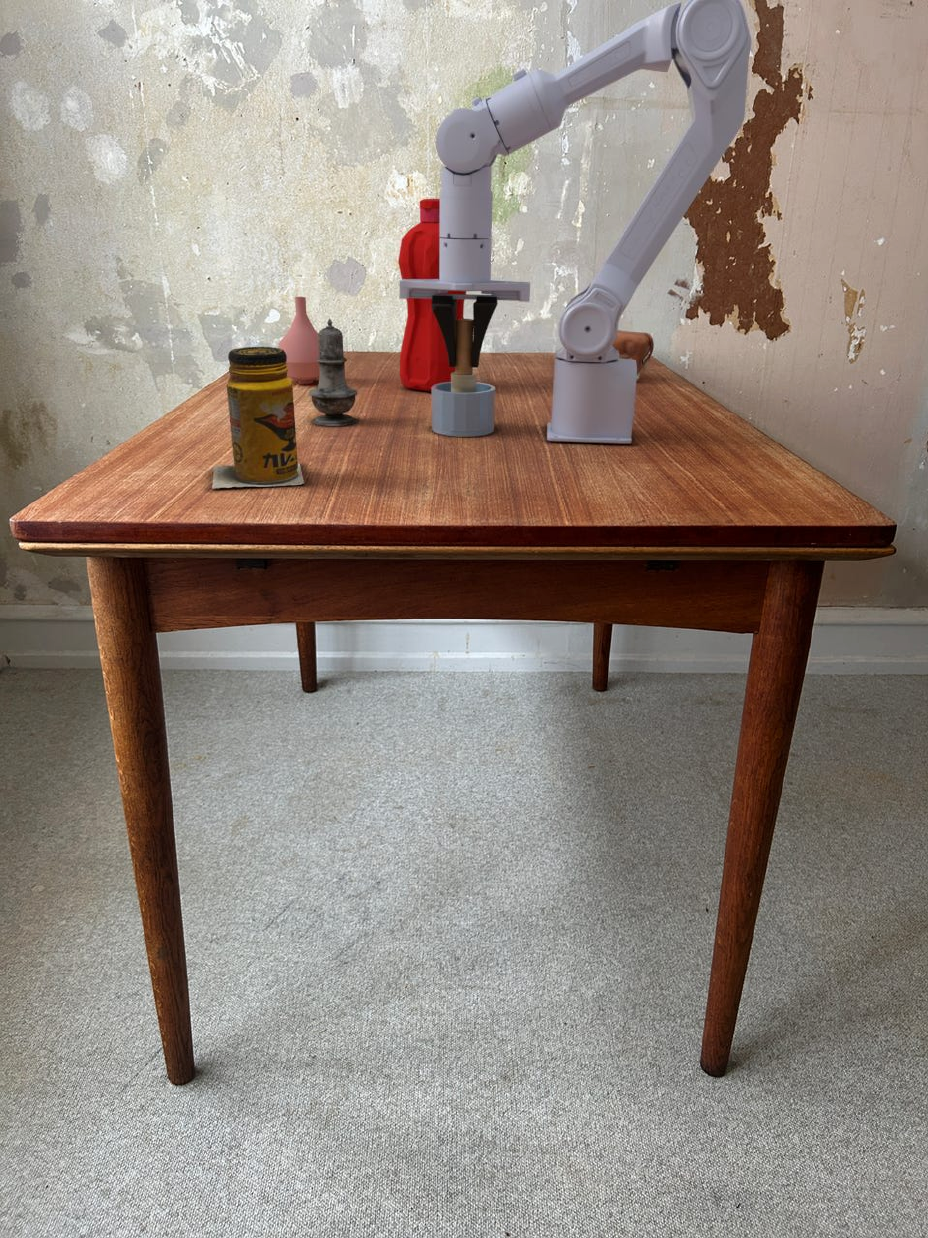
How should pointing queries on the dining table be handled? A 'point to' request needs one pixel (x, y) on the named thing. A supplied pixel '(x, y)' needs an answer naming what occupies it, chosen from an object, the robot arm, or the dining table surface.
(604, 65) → the robot arm
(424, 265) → the water bottle
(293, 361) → the pink vase
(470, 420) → the beaker
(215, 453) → the dining table surface
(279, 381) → the condiment
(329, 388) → the salt shaker
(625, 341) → the bull figurine
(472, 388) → the brush
